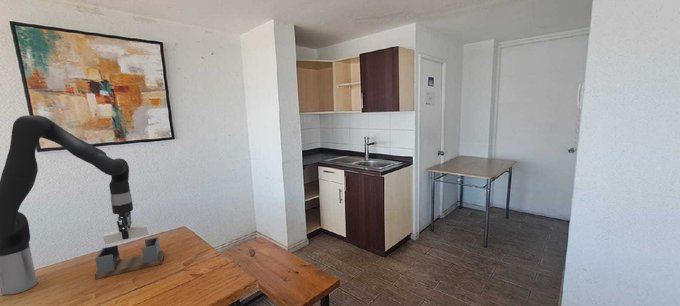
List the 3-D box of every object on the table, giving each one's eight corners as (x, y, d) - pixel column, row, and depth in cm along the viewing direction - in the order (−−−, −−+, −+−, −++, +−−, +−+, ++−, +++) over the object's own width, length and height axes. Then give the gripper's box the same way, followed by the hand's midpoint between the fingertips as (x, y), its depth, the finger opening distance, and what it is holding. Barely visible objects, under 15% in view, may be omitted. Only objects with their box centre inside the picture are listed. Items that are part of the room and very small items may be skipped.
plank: (95, 279, 121) (94, 275, 121) (102, 267, 131) (101, 263, 131) (161, 263, 133) (161, 259, 132) (163, 253, 142) (163, 249, 142)
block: (104, 244, 123) (103, 236, 122) (105, 241, 126) (104, 233, 125) (147, 234, 132) (146, 226, 132) (147, 231, 135) (146, 224, 135)
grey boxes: (98, 274, 122) (95, 258, 121) (104, 262, 131) (102, 248, 130) (158, 260, 132) (156, 245, 131) (160, 250, 141) (158, 237, 140)
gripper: (115, 198, 131) (121, 232, 134) (106, 208, 118) (112, 245, 121) (135, 196, 134) (139, 229, 137) (128, 205, 122) (133, 241, 124)
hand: (127, 236), depth 129 cm, fingers closed on block, 4 cm apart
